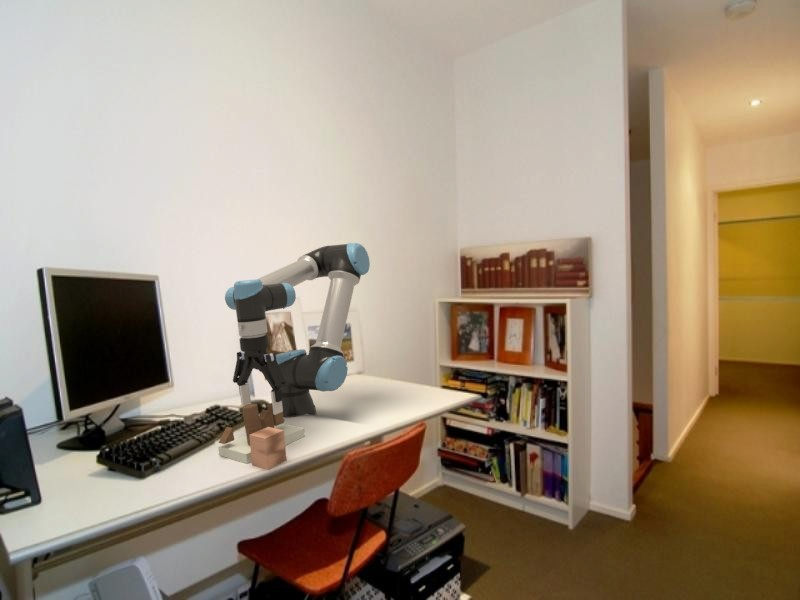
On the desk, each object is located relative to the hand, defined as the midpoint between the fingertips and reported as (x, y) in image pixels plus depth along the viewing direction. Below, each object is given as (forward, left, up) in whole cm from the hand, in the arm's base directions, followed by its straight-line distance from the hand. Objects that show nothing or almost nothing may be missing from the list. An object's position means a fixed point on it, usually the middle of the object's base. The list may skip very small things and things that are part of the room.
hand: (261, 409), depth 124 cm
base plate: (+1, 0, -10) cm, 10 cm away
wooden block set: (+2, 0, -8) cm, 8 cm away
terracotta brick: (+8, +11, -10) cm, 17 cm away
